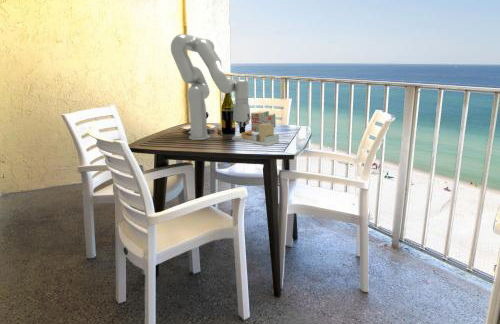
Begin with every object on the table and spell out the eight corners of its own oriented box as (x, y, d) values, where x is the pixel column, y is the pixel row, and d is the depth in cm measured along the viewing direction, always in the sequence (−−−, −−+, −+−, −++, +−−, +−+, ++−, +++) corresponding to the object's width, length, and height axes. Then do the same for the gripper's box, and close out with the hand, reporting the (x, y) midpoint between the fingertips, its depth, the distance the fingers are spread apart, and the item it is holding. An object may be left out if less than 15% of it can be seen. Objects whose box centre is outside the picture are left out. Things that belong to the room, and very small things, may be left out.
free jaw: (239, 137, 214) (239, 132, 213) (251, 135, 221) (251, 130, 220) (256, 140, 205) (256, 135, 205) (268, 137, 212) (268, 132, 212)
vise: (232, 139, 219) (231, 132, 218) (244, 137, 226) (244, 129, 225) (267, 145, 201) (267, 137, 200) (279, 142, 208) (278, 134, 207)
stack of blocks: (267, 126, 261) (267, 108, 258) (275, 127, 258) (275, 109, 255) (251, 131, 244) (250, 112, 241) (259, 132, 241) (259, 113, 237)
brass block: (258, 140, 207) (258, 124, 204) (266, 138, 211) (266, 123, 209) (265, 142, 203) (265, 125, 201) (273, 139, 208) (273, 123, 206)
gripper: (228, 101, 217) (228, 132, 221) (246, 103, 207) (247, 135, 211) (237, 100, 222) (238, 130, 227) (255, 101, 212) (256, 133, 217)
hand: (242, 133), depth 219 cm, fingers closed
